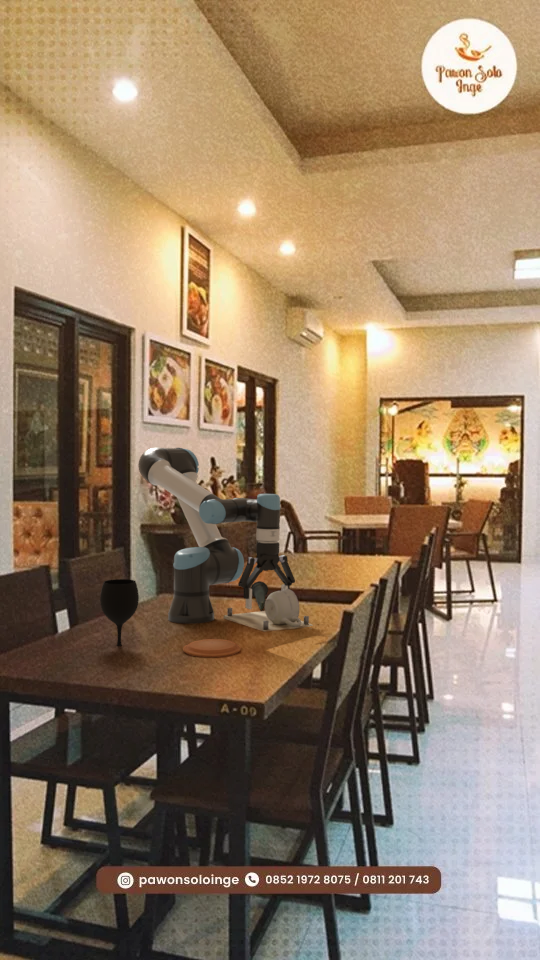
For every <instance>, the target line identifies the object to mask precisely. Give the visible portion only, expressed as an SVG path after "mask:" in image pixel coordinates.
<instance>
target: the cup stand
mask: <svg viewBox="0 0 540 960" xmlns="http://www.w3.org/2000/svg"><path fill="white" fill-rule="evenodd" d="M226 609H227V610H226V611H227V613H226V614H224V615H223V620H224V619H225V620H227V621H231V622H234V623H236V624H239V625H244V626H246V627H249V628H251V629H255V630H258V631H261V632H264V633H265V632H272V631H280V630H281V631H282V630H294V629H302V628H305V627H310V626H313V627H314V625H313V624H312V623H309V622H310V616H309V615H304V616H303V621H302V620H301V625H300V626H299V627H292V626H289V625H288V624H280V625H278V624H274V623H273V622H271V621H270V620H269V619H268V617H267V615H266V613H265V610H260V611H253V612H252V611H251V612H243V613H234V614H233V607H227V608H226ZM294 623H298V622H297V621H295V622H294Z"/></svg>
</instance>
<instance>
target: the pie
mask: <svg viewBox="0 0 540 960" xmlns="http://www.w3.org/2000/svg"><path fill="white" fill-rule="evenodd" d="M182 649H183V650H182V651H183V652H184V653H185V655H188V656H192V657H199V658H223V657H229V656H235V655H237V654H239V653H240V651H241V649H242V647H241V646H240V645H239V644H238V643H235V642H234V641H232V640H228V639H220V638H208V639H206V638H204V639H197V640H194V641H191V642H189V643H188V644H186V645H183V647H182Z"/></svg>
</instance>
